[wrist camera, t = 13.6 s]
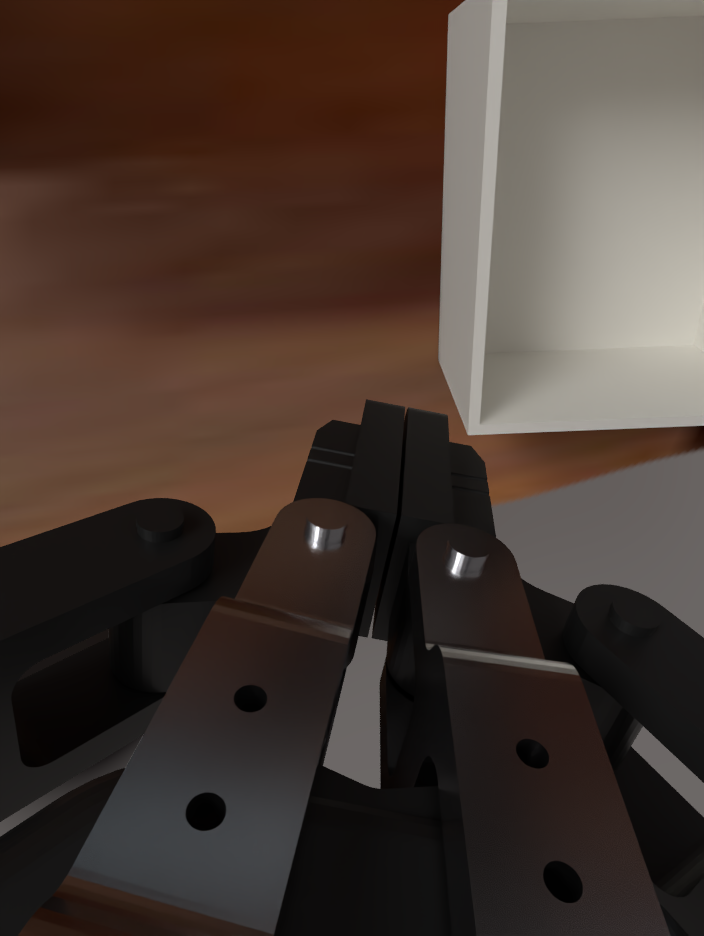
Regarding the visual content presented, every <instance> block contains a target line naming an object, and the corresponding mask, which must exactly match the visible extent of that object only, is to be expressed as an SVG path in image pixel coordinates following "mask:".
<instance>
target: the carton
mask: <svg viewBox="0 0 704 936" xmlns="http://www.w3.org/2000/svg"><path fill="white" fill-rule="evenodd" d="M438 360H439V363H440V365H441V368H442V370H443V373H444V375H445V378H446V381H447V383H448V386H449V388H450V391H451V393H452V396H453V398H454V401H455V403H456V406H457V408H458V411H459V414H460V416H461V419H462V421H463V424H464V426H465V429H466V431H467V434H468V435H484V434H508V433H533V432H558V431H583V430H607V429H632V428H657V427H681V426H704V0H465V1H464V2H463V3H462V4H461V5H459V6H458V7H457V8H456V9H455V10H453V11H452V12H451V13H450V14H449V16H448V49H447V83H446V117H445V151H444V184H443V218H442V252H441V285H440V319H439V353H438Z"/></svg>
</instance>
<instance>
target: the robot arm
mask: <svg viewBox="0 0 704 936" xmlns="http://www.w3.org/2000/svg"><path fill="white" fill-rule="evenodd" d="M404 415H405V407H403V406H398V405H392V404H387V403H382V402H377V401H372V400H366V403H365V408H364V412H363V417H362V422H361V425H357V424H352V423H347V422H342V421H337V420H332V421H330V422H329V423H327V424H326V425H324V426H323V427H321V428H320V429H319V430H317V432H316V435H315V438H314V441H313V444H312V448H311V450H310V453H309V456H308V460H307V462H306V465H305V468H304V471H303V474H302V477H301V480H300V483H299V486H298V489H297V492H296V495H295V498H294V501H293V502H292V503H290V504H288V505H287V506H285V507H284V508H282V509H281V510H280V512H279V513H278V514H277V516H276V518H275V520H274V522H273V524H272V526H270V527H268V528H265V529H261V530H257V531H251V532H240V533H216V527H215V524H214V521H213V520H212V518H211V516H210V515H209V514H208V513H207V512H206V511H204V510H203V509H201V508H200V507H198V506H196V505H194V504H191V503H188V502H185V501H181V500H177V499H169V498H153V499H145V500H139V501H136V502H132V503H129V504H126V505H123V506H120V507H117V508H114V509H111V510H109V511H106V512H103V513H100V514H97V515H94V516H91V517H88V518H85V519H82V520H79V521H76V522H73V523H70V524H67V525H64V526H61V527H59V528H56V529H53V530H50V531H47V532H44V533H41V534H38V535H35V536H32V537H29V538H26V539H23V540H20V541H17V542H14V543H11V544H9V545H6V546H3V547H0V822H1V821H2V820H4V819H5V818H7V817H9V816H10V815H12V814H14V813H15V812H17V811H19V810H20V809H22V808H24V807H25V806H27V805H29V804H30V803H32V802H33V801H35V800H37V799H38V798H40V797H42V796H43V795H45V794H47V793H48V792H50V791H51V790H53V789H55V788H56V787H58V786H60V785H61V784H63V783H65V782H66V781H68V780H69V779H71V778H73V777H74V776H76V775H78V774H79V773H81V772H83V771H84V770H86V769H88V768H89V767H91V766H92V765H94V764H96V763H97V762H99V761H101V760H102V759H104V758H105V757H107V756H109V755H110V754H112V753H114V752H115V751H117V750H118V749H120V748H122V747H123V746H125V745H127V744H128V743H130V742H132V741H133V740H135V739H137V738H138V737H140V736H141V735H143V734H144V735H143V736H142V738H141V740H140V742H139V744H138V746H137V747H136V749H135V751H134V753H133V755H132V757H131V759H130V760H129V762H128V764H127V766H126V768H123V769H120V770H116V771H114V772H111V773H109V774H106V775H104V776H101V777H98V778H96V779H93V780H91V781H90V782H88V783H85V784H84V785H82V786H80V787H78V788H76V789H74V790H72V791H70V792H68V793H67V794H65V795H63V796H62V797H60V798H58V799H57V800H55V801H54V802H52V803H51V804H49V805H48V806H46V807H45V808H43V809H42V810H40V811H39V812H37V813H36V814H34V815H33V816H31V817H30V818H28V819H26V820H25V821H23V822H22V823H20V824H19V825H17V826H16V827H14V828H13V829H11V830H10V831H8V832H7V833H5V834H4V835H2V836H1V837H0V936H704V817H703V816H702V815H701V814H699V813H698V812H697V811H696V810H695V809H694V808H693V807H692V806H691V805H690V804H689V803H688V802H687V801H686V800H685V799H684V798H683V797H682V796H681V795H680V794H679V793H678V792H677V791H676V790H675V789H674V788H673V787H672V786H671V785H670V784H669V783H668V782H667V781H666V780H665V779H664V778H663V777H662V776H661V775H660V774H659V773H658V772H657V771H655V769H654V768H652V767H651V766H650V765H649V764H648V763H647V762H646V761H645V760H644V759H643V758H642V757H641V756H640V755H639V754H638V753H637V752H636V751H635V750H634V749H633V748H632V747H631V745H632V743H633V742H634V740H635V738H636V737H637V735H638V733H639V732H640V730H641V728H642V727H643V726H644V727H645V728H646V729H647V730H648V731H649V732H650V733H651V734H652V735H653V736H654V737H655V738H656V739H658V740H659V741H660V742H661V743H662V744H663V745H664V746H665V747H666V748H667V749H668V750H669V751H670V752H671V753H673V754H674V755H675V756H676V757H677V758H678V759H679V760H680V761H681V762H682V763H683V764H684V765H685V766H686V767H688V768H689V769H690V770H691V771H692V772H693V773H694V774H695V775H696V776H697V777H698V778H699V779H700V780H702V782H703V783H704V638H703V637H702V636H700V635H699V634H698V633H697V632H695V631H694V630H693V629H691V628H690V627H689V626H688V625H686V624H685V623H684V622H682V621H681V620H680V619H678V618H677V617H676V616H674V615H673V614H672V613H670V612H669V611H668V610H667V609H665V608H664V607H663V606H661V605H660V604H658V603H657V602H656V601H654V600H652V599H650V598H649V597H647V596H645V595H643V594H641V593H639V592H636V591H633V590H630V589H628V588H624V587H620V586H615V585H604V584H601V585H593V586H590V587H587V588H585V589H583V590H582V591H581V592H580V593H579V595H578V596H577V598H576V601H575V603H571V602H569V601H567V600H564V599H562V598H559V597H557V596H555V595H552V594H550V593H547V592H545V591H543V590H541V589H538V588H536V587H534V586H532V585H531V584H529V583H527V582H526V581H524V580H523V579H521V577H520V573H519V570H518V567H517V563H516V561H515V558H514V556H513V554H512V553H511V551H510V550H509V549H508V548H507V547H506V545H505V544H503V543H502V542H501V541H500V540H498V539H497V538H496V534H495V528H494V522H493V515H492V508H491V501H490V496H489V488H488V482H487V474H486V468H485V462H484V461H483V460H482V459H481V457H480V456H479V455H478V454H477V453H476V451H475V450H474V449H473V448H472V447H471V446H468V445H463V444H457V443H452V442H449V429H448V416H447V415H445V414H440V413H435V412H430V411H425V410H419V409H414V408H409V407H408V409H407V412H406V416H405V420H404ZM374 608H375V613H374V622H373V631H372V638H374V639H379V640H385V641H388V642H387V655H386V659H385V663H384V666H383V670H382V674H381V678H380V685H379V686H380V688H379V689H380V782H381V783H380V789H377V788H372V787H369V786H366V785H363V784H361V783H359V782H357V781H354V780H352V779H350V778H348V777H345V776H344V775H341V774H339V773H337V772H335V771H333V770H330V769H328V768H326V767H324V766H323V764H324V759H325V755H326V751H327V747H328V743H329V739H330V735H331V730H332V727H333V723H334V718H335V715H336V710H337V706H338V702H339V698H340V694H341V690H342V686H343V682H344V678H345V673H346V669H347V666H348V665H349V664H350V663H351V661H352V659H353V657H354V653H355V648H356V645H357V640H358V636H363V637H368V633H369V628H370V624H371V621H372V616H373V612H374ZM106 629H108V635H109V638H107V639H105V640H103V641H101V642H98V643H96V644H94V645H92V646H90V647H88V648H86V649H84V650H82V651H80V652H78V653H76V654H73V655H71V656H69V657H67V658H65V659H63V660H61V661H59V662H57V663H55V664H53V665H51V666H49V667H46V668H44V669H42V670H40V671H38V672H36V673H34V674H32V675H30V676H28V677H26V678H24V679H22V680H20V681H18V680H19V678H20V677H21V676H22V675H23V674H24V673H25V672H26V671H27V670H28V669H29V668H30V667H32V666H33V665H34V664H36V663H38V662H39V661H41V660H43V659H45V658H47V657H49V656H52V655H53V654H56V653H58V652H60V651H62V650H64V649H67V648H69V647H71V646H73V645H75V644H77V643H79V642H81V641H84V640H86V639H88V638H90V637H92V636H94V635H96V634H98V633H100V632H103V631H105V630H106Z"/></svg>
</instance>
